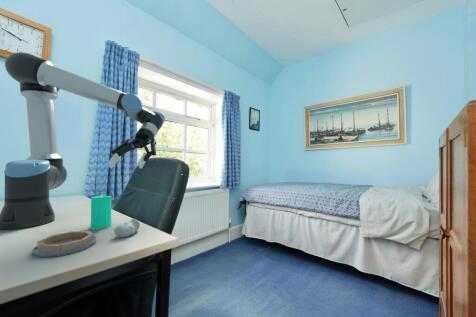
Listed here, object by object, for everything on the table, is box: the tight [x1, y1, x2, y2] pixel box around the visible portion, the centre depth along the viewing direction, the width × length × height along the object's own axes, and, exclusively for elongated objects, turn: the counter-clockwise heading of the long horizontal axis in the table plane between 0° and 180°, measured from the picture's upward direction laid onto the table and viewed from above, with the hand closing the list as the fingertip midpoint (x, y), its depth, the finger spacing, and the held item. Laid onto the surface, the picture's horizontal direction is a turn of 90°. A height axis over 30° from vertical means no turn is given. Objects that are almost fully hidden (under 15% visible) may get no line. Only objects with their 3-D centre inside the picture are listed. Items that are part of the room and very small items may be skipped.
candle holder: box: [32, 230, 97, 258], centre depth 56 cm, size 13×13×2 cm
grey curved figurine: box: [114, 218, 141, 238], centre depth 65 cm, size 4×8×5 cm
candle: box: [90, 191, 112, 230], centre depth 73 cm, size 6×6×12 cm
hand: (124, 166), depth 84 cm, fingers open, 13 cm apart
